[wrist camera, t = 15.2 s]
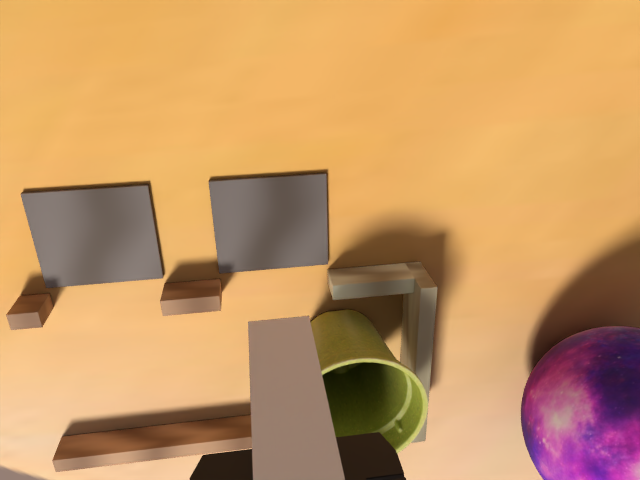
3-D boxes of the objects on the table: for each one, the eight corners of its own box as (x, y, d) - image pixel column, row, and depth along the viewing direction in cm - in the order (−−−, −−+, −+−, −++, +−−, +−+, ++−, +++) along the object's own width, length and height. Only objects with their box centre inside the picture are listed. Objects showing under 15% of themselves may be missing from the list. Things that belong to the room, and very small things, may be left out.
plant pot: (344, 403, 46) (366, 486, 38) (255, 354, 43) (259, 434, 35) (417, 326, 44) (456, 399, 36) (329, 268, 41) (351, 334, 33)
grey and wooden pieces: (65, 447, 44) (49, 488, 40) (-11, 194, 35) (-39, 217, 31) (411, 406, 47) (425, 441, 44) (426, 166, 38) (445, 184, 35)
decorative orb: (607, 257, 44) (772, 376, 30) (675, 363, 50) (838, 501, 36) (458, 365, 46) (549, 518, 33) (539, 453, 52) (645, 613, 39)
